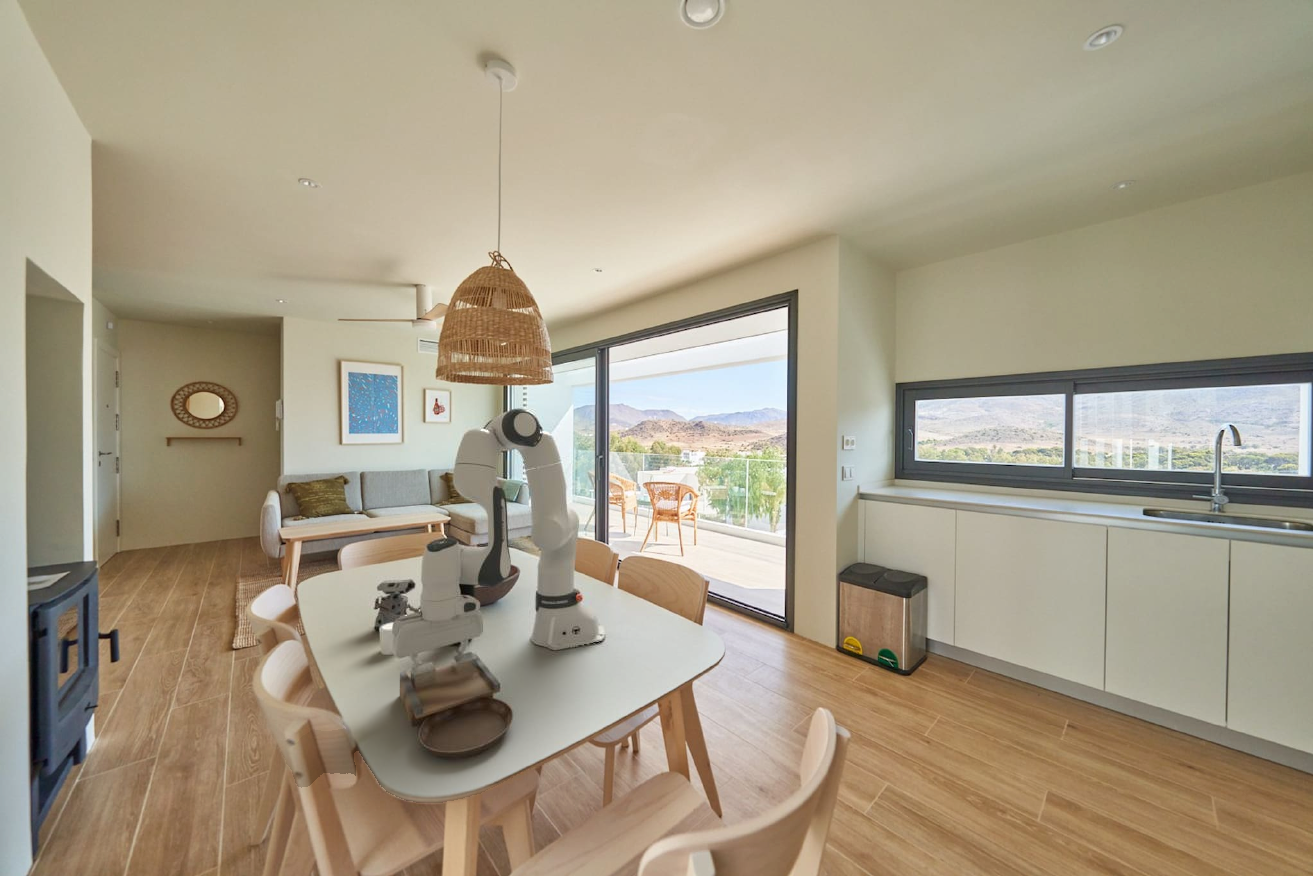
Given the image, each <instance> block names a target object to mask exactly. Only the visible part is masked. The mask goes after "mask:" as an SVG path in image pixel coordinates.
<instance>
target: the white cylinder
mask: <svg viewBox="0 0 1313 876" xmlns="http://www.w3.org/2000/svg"><path fill="white" fill-rule="evenodd" d="M393 623H394V622H390V623H386V624H384V625H382V626H380V628H379V631H378V632H379V641H380V652H381V654H382V655H386V656H387V655H388V656H390V655H394V654H393V652H392V644H393V637H394V635H393V633H392V626H393Z"/></svg>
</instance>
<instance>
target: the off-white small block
mask: <svg viewBox="0 0 1313 876" xmlns="http://www.w3.org/2000/svg"><path fill="white" fill-rule="evenodd" d="M436 668H437V667H435V665H434V664H433V662H432V661H430V662H426V663H423V665H419V666H415V667H414V666H412V667H410V675H411V682H412V684H413V686H414V689H416V688H419V687H423V686H426V685H429V684H433V683H436Z"/></svg>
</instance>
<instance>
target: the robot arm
mask: <svg viewBox="0 0 1313 876" xmlns="http://www.w3.org/2000/svg"><path fill="white" fill-rule="evenodd" d="M513 450H517V451H518V453H519V454H520V455H521V458H522V460H523V465H524V466H523V467H524V470H525V474H526V480H527V485H528V489H529V493H530V509H531V511H530V512H531V513H530V515H531V529H530V538H531V541H532V543H533V545H534V546H535V547H536V548H538V549H539V550H541V551H540V555H539V560H538V563H537V580H536V582H537V585H536V586H537V587H536V588H537V589H536V591H535V595H534V596H535V597H534V607H535V608H534V609H535V617H534V624H533V629H532V633H531V635H530V641H531V642H532V643H533V644H535V645H537V646H542V647H546V648H548V649H550V650H552V651H558V650H563V649H569V647H570V648H575V646H576V647H579V646H578V645H582V646H585V645H584V644H587V645H590V644H589V643H592V642H599V641H602V640H603V639H604V637H605V638H606V629H605V628H604V625H602V624H601V623H600V622H599V620H598V617H597V614H596V612H595V610H594V609H593V608H592V607H590V606H588V605H587V604H586V603H584V602H583V598H584V597H583V594H582V593H581V591H580V589H579V588H575V564H576V563H575V561H576V554H577V547H578V537H579V527H580V519H579V516H578V514H577V512H576V511H575V510H573V509H572V508H569V507H568V504H567V483H566V482H567V481H566V478H565V474H564V470H563V465H562V461H561V455H560V453H559V450H558V447H557V444H556V442H555V439H554V437H553V435H552V434H551V433H549V432H548V431H545V430H543V427H542V426H541V424H540V421H539V420H538V417H537V416H536V415H535V414H534V413H533V412H532V411H531V410H529V409H527V408H521V407H520V408H513V409H510V410H508V411H505V412H502V413H500V414H498V416H496V417H494V418H493V419H491V420H490V421H488V422H487V423H486V424H485V425H484V427H483V428H473V429H469V430H468V431H465V433H464V434H463V436H462V438H461V441H460V443H459V447H458V449H457V454H456V458H455V463H454V467H453V472H452V473H453V474H452V484H453V486H454V489H455V490H456V491H457V493H458V494H459V495H460V496H462V497H463V498H465V499H467V500H469V501H471V502H472V503H475V504H476V505H479V506H480V507H482V508H483V509H484V510H485V513H486V514H487V516H486V517H487V535H488V536H487V537H488V540H487V541H488V542H487V546H485V547H484V546H470V545H463V544H460V543H459V541H458V539H456V538H453V537H452V538H451V537H445V538H444V537H443V538H439V539H434V540H432V541H430V542H428V543H427V544H426V545H425V547H424V550H423V554H422V559H421V569H420V570H421V571H420V581H421V585H422V590H421V594H420V604H419V605H420V606H419V607H420V609H419V612H416V613H415V612H412V613H410V614H407V615H403V616H400V618H398V619H397V620H395V622H394V623H393V626H392V633H393V635H394V637H393V644H392V652H393V654H392V655H393V656H395V658H397V659H403V658H407V657H409V658H410V660H411V661H412V663H413V667H415V666H419V665H423V664H424V663H423V662H422V661H421V660H418V661H417V658H418V657H419V654H421V653H424V652H429V651H431V650H435V649H436V650H437V649H439V648H442V647H447V646H449V645H452V644H454V643H457V642H461V645H459V647H458V649H455V650H454V656H457V655H461V654H464V652H465V650H466V648H467V647H468V645H469V640H471V639H475V638H478V637H481V635H482V634H483V632H484V619H483V613H482V611H481V610H480V607H481V602H480V601H479V600H478V599H476V597H475V598H473V597H471V596H468V595H460V588H459V584H468V585H475V586H480V587H485V588H491V589H494V588H496V587H498V586H500V585H501V584H503V582H505V581H506V580H507V579H508V578H509V575H510V573H511V569H512V564H511V563H512V562H511V561H512V560H511V555H510V553H511V552H510V549H509V548H510V547H509V531H508V526H509V525H508V506H507V504H508V503H507V496H506V493H505V490H504V488H502V487H501V486H500V485H499V483H498V477H497V473H498V472H497V471H498V462H499V461H498V460H499V458H500V455H501V453H506V452H509V451H513ZM398 620H400V621H398ZM468 639H469V640H468ZM604 640H605V639H604ZM604 640H603V641H604ZM603 641H602V642H603ZM599 643H600V642H599Z"/></svg>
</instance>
